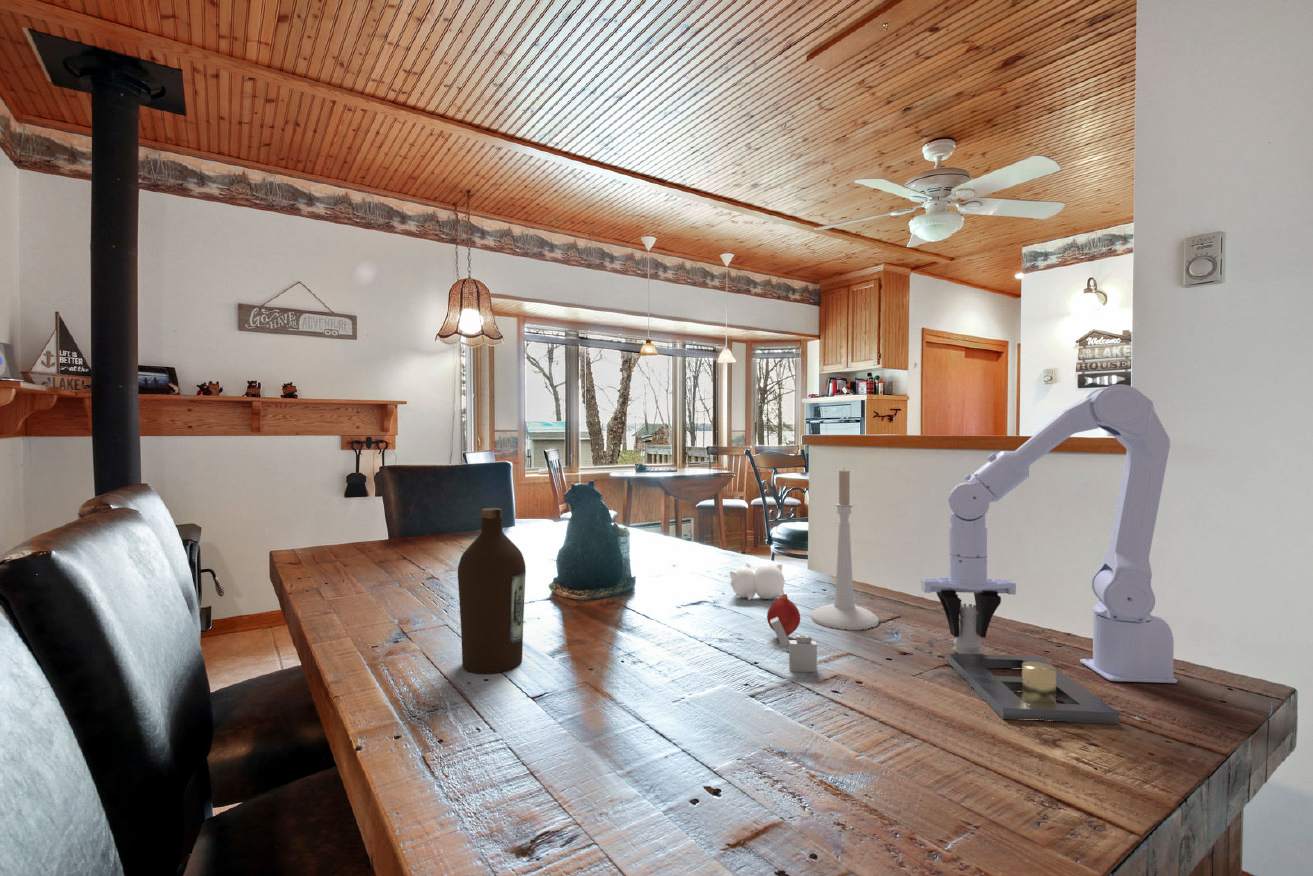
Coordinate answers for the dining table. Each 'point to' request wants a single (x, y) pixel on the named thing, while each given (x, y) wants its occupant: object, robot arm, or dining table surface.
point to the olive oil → (491, 599)
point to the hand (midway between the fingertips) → (967, 635)
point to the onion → (784, 614)
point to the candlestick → (844, 575)
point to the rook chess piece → (967, 632)
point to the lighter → (798, 649)
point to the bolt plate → (1031, 689)
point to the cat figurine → (758, 581)
